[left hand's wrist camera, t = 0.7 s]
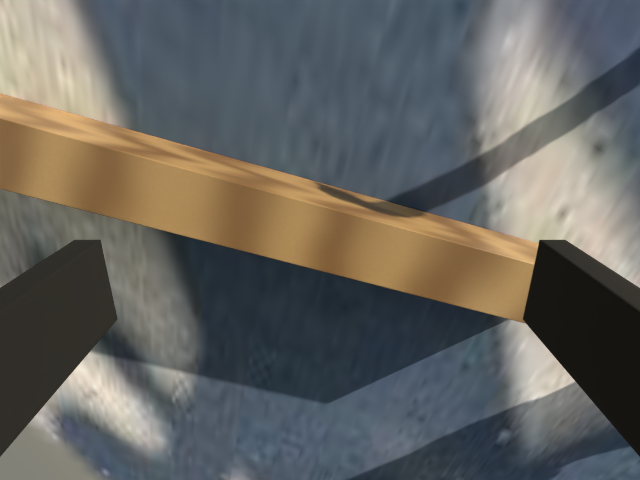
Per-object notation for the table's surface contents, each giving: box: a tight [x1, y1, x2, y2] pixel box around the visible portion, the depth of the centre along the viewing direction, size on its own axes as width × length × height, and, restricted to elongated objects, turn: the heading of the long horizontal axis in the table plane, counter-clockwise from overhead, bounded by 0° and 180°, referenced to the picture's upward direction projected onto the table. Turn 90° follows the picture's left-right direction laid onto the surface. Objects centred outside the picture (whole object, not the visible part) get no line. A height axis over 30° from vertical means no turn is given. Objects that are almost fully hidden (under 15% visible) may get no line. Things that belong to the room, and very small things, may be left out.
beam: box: [0, 94, 539, 323], centre depth 35 cm, size 67×5×8 cm, turn 74°
